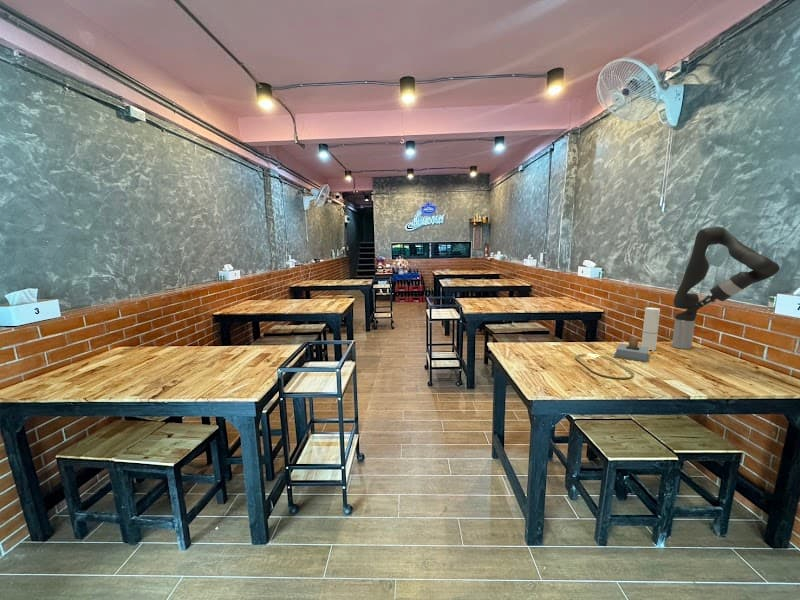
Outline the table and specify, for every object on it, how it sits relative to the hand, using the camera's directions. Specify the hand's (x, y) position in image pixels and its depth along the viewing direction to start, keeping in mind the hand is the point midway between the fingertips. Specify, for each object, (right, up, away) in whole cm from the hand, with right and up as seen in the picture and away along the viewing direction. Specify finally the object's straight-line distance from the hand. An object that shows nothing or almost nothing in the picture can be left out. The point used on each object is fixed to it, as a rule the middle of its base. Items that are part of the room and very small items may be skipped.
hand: (692, 309), depth 174 cm
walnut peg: (-21, -26, +15) cm, 37 cm away
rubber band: (-47, -30, 0) cm, 56 cm away
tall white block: (-3, -25, +28) cm, 37 cm away
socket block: (-21, -27, +15) cm, 37 cm away
